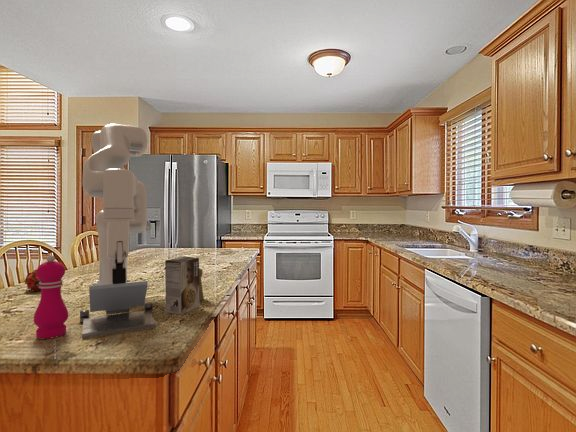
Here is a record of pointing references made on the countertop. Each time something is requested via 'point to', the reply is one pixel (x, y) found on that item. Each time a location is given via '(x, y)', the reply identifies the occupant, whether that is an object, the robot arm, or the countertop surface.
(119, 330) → the hinge base
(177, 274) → the coffee box
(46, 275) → the pepper mill
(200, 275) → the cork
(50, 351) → the countertop surface
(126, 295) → the panel
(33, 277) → the dragon fruit
